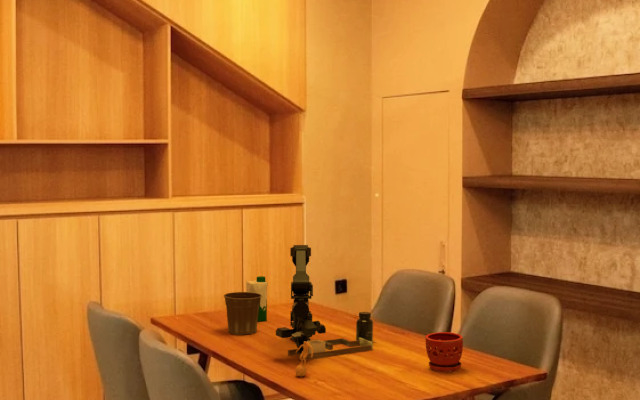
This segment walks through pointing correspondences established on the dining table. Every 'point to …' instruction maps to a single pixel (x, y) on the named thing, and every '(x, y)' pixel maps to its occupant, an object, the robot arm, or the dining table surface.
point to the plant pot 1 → (242, 312)
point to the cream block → (316, 346)
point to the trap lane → (363, 343)
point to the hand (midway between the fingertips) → (300, 353)
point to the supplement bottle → (364, 326)
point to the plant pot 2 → (444, 351)
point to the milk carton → (261, 288)
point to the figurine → (301, 368)
